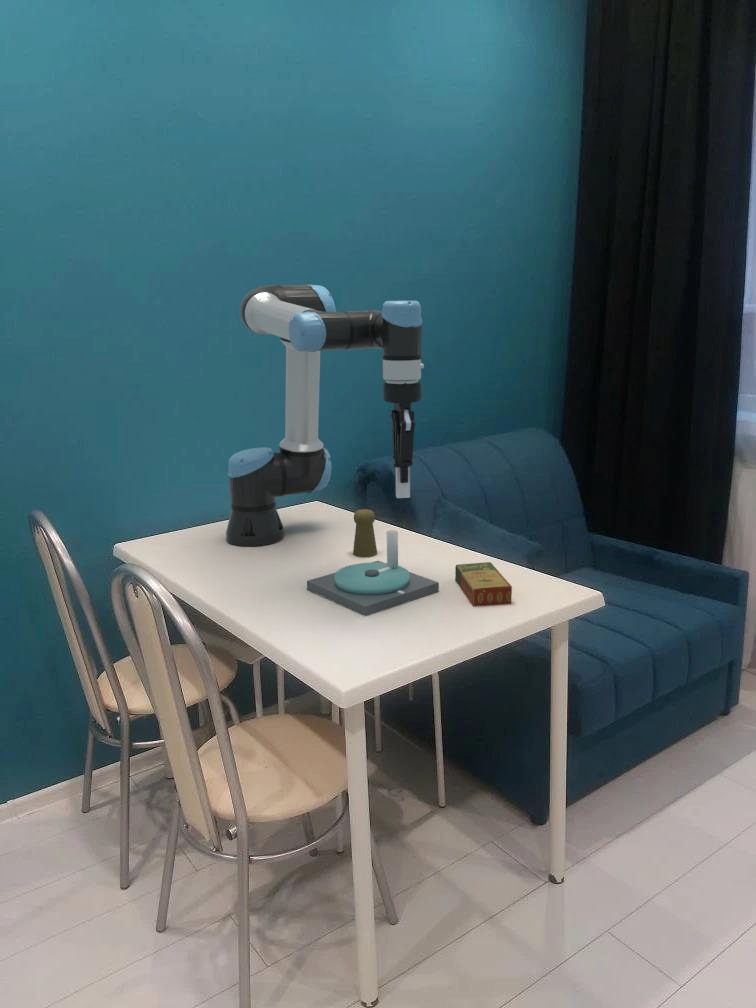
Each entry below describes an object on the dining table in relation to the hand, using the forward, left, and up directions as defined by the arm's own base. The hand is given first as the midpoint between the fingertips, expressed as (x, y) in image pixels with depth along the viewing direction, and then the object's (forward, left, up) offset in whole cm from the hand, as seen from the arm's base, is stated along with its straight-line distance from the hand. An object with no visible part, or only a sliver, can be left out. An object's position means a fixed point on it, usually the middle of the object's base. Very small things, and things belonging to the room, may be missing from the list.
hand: (402, 496), depth 160 cm
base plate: (-6, -4, -21) cm, 22 cm away
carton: (+10, +13, -22) cm, 27 cm away
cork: (-27, +11, -21) cm, 36 cm away
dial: (-6, -4, -19) cm, 20 cm away
